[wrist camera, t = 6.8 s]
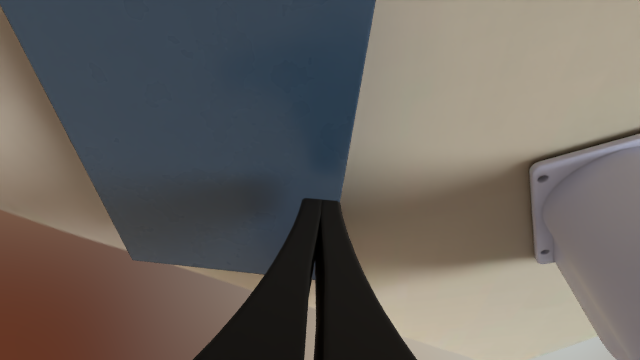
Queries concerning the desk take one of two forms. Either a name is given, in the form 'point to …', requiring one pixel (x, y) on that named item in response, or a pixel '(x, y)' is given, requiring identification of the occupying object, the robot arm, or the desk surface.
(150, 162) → the cover
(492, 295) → the desk surface
